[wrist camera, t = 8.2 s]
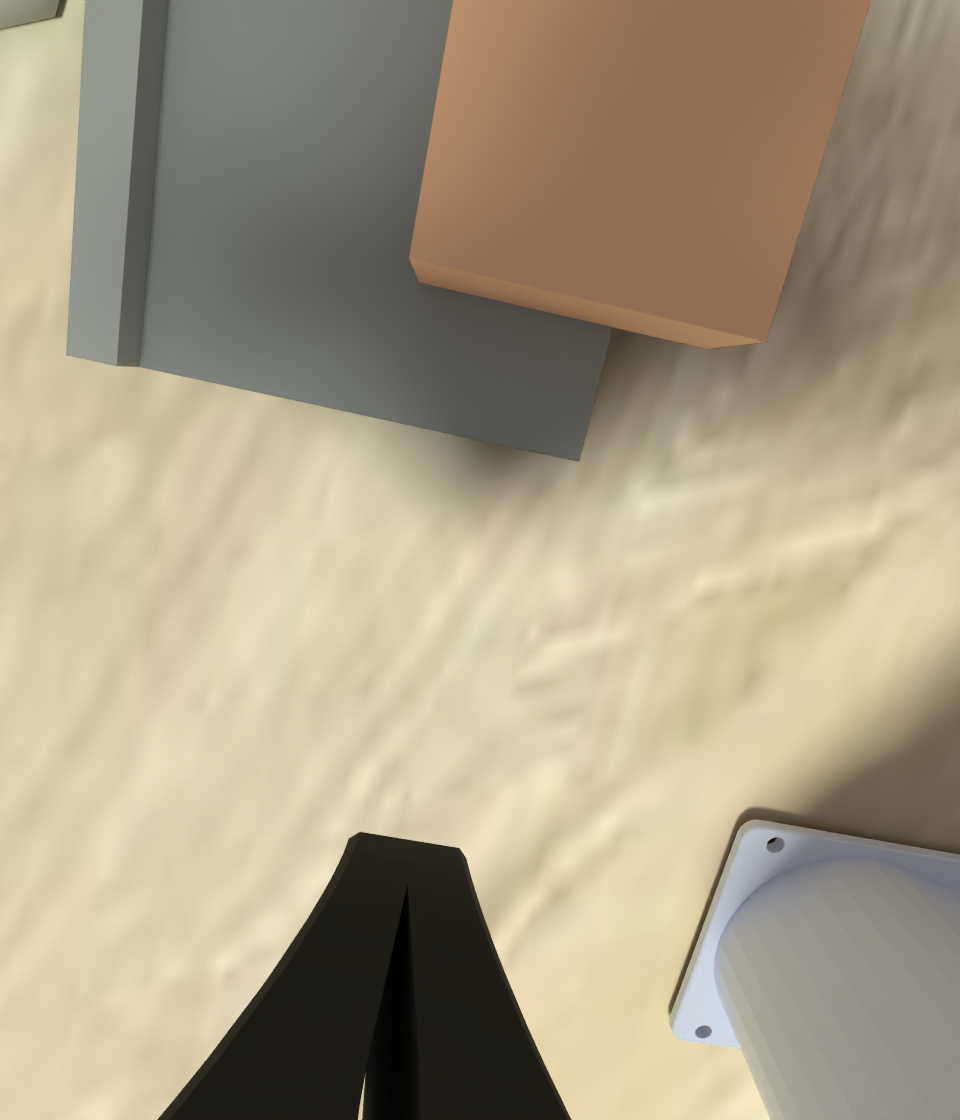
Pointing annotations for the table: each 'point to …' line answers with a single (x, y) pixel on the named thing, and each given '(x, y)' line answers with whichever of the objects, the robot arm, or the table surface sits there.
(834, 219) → the table surface
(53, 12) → the flask
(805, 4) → the slab
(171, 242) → the grey tray
